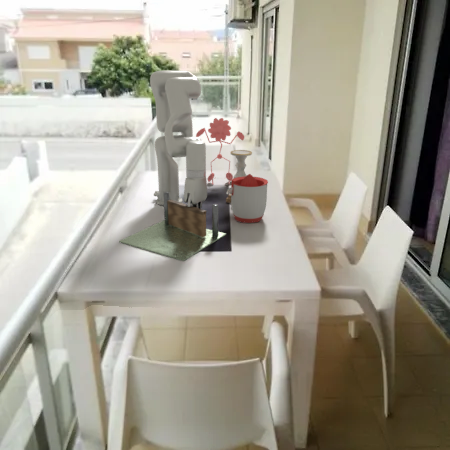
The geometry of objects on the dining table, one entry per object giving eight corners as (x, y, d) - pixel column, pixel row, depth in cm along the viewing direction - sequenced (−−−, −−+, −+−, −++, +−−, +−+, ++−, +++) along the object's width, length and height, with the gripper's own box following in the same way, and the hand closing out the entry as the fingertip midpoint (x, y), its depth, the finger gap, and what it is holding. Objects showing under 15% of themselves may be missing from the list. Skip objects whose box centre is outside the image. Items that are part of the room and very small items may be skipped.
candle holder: (225, 202, 210) (226, 153, 201) (233, 196, 219) (234, 148, 211) (247, 205, 206) (248, 155, 197) (254, 198, 215) (256, 150, 207)
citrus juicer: (224, 213, 195) (224, 169, 188) (263, 212, 197) (264, 169, 189) (228, 226, 181) (228, 179, 173) (269, 225, 182) (271, 178, 175)
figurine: (244, 184, 239) (245, 119, 228) (197, 185, 236) (196, 119, 224) (239, 177, 254) (240, 115, 242) (195, 179, 250) (194, 116, 238)
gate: (168, 224, 179) (167, 200, 175) (171, 223, 180) (171, 199, 177) (202, 237, 167) (202, 212, 163) (206, 235, 168) (206, 210, 164)
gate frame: (119, 242, 164) (116, 206, 159) (166, 220, 186) (164, 188, 181) (183, 261, 149) (182, 222, 144) (226, 234, 172) (226, 200, 167)
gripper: (198, 168, 175) (199, 211, 182) (176, 176, 163) (178, 222, 170) (214, 170, 172) (214, 214, 178) (193, 179, 160) (193, 225, 166)
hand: (196, 218), depth 174 cm, fingers closed
